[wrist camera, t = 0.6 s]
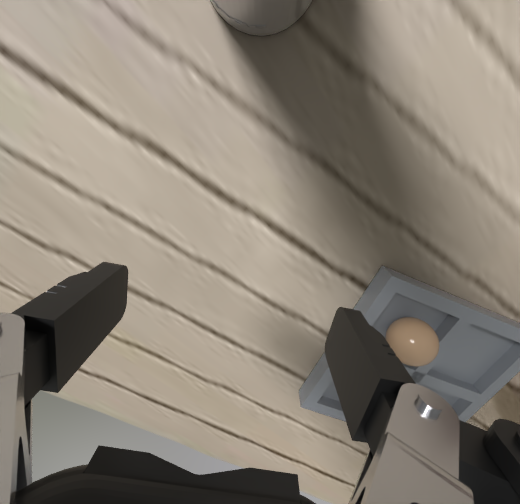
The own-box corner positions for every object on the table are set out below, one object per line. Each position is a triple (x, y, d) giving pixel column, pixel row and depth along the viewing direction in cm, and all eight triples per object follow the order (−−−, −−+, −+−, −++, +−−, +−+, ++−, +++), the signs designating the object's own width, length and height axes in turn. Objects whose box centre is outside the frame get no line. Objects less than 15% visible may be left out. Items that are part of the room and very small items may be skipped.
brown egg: (394, 301, 30) (417, 331, 25) (432, 316, 31) (461, 348, 26) (369, 335, 32) (387, 368, 27) (406, 348, 32) (429, 383, 28)
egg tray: (382, 265, 29) (391, 275, 27) (531, 327, 32) (551, 341, 30) (298, 390, 37) (300, 407, 34) (425, 432, 39) (435, 450, 37)
